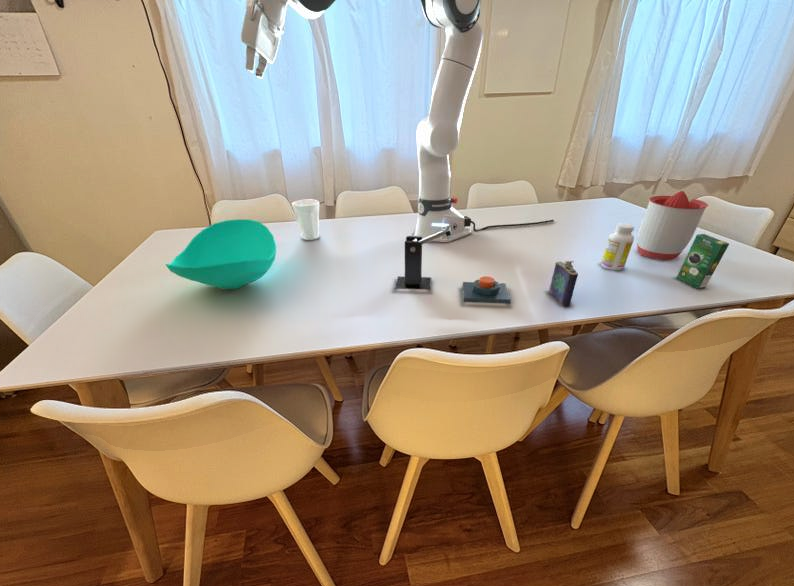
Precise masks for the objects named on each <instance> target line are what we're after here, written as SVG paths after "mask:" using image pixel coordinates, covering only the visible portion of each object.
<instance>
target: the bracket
mask: <svg viewBox="0 0 794 586" xmlns="http://www.w3.org/2000/svg"><path fill="white" fill-rule="evenodd" d="M416 238H417V240H418V241H412V240H414V239H416ZM420 240H422V236H414V235H406V236H405V240H404V276H398V275H397V276H396V281H395V285H394V289H396V290H397V289H398V290H399V289H400V290H426V291H427V290H431V283H432V277H430V276H429V277H428V276H422V272H423V269H422V268H423V244H422V245H421V243H422V241H420Z"/></svg>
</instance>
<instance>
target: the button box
mask: <svg viewBox="0 0 794 586" xmlns="http://www.w3.org/2000/svg"><path fill="white" fill-rule="evenodd" d="M461 286H462V287H461V288H462V301H463V303H483V304H484V303H485V304H486V303H487V304H511V300H512V299H511V296H510V293H509V289H508V286H507V283H506V282H498V281H496V280H495V282H494V287H492V288H483V287H480V286H479V279H476V280H474V281H462V284H461Z"/></svg>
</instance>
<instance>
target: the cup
mask: <svg viewBox="0 0 794 586" xmlns="http://www.w3.org/2000/svg"><path fill="white" fill-rule="evenodd" d="M291 206H292V210H293V212H294V215H295V218H296V221H297V224H298V228H299V230H300V234H301V238H302V239H303V240H307V241H313V240H317V239H319V238H320V201H319V200H318V199H311V198H310V199H309V198H308V199H307V198H306V199H299V200H298V199H297V200H295V201H293V202H292V203H291Z"/></svg>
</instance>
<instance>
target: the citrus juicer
mask: <svg viewBox="0 0 794 586" xmlns="http://www.w3.org/2000/svg"><path fill="white" fill-rule="evenodd" d="M648 200H649V202H648V204H647V207H646V209H645V213H644V215H643V218H642V221H641V224H640V226H639V230H638V235H637V244H636V246H637V252H638V253H639V254H640V256H644V257H647V258H652V259H656V260H662V261H668V260H674V259H676V258H678V256H680V254H682V253H683V251H684V250H685V249H686V247H688V245H689V243H690V242H691V240H692V238H693V236H694V234H695V233H696V231H697V228H698V225H699V223H700V221H701V219H702V217H703V215H704V212H705V210H706V208H707V207H708V206H709V204H708V203H707V202H706V201H703V200H700V199H695V198H693V199H691V200H689V198H688V196H687V194H686V192H685V190H680V191H678V192H676V193H675V194H673V195H656V196H651V197H649V199H648Z"/></svg>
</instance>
